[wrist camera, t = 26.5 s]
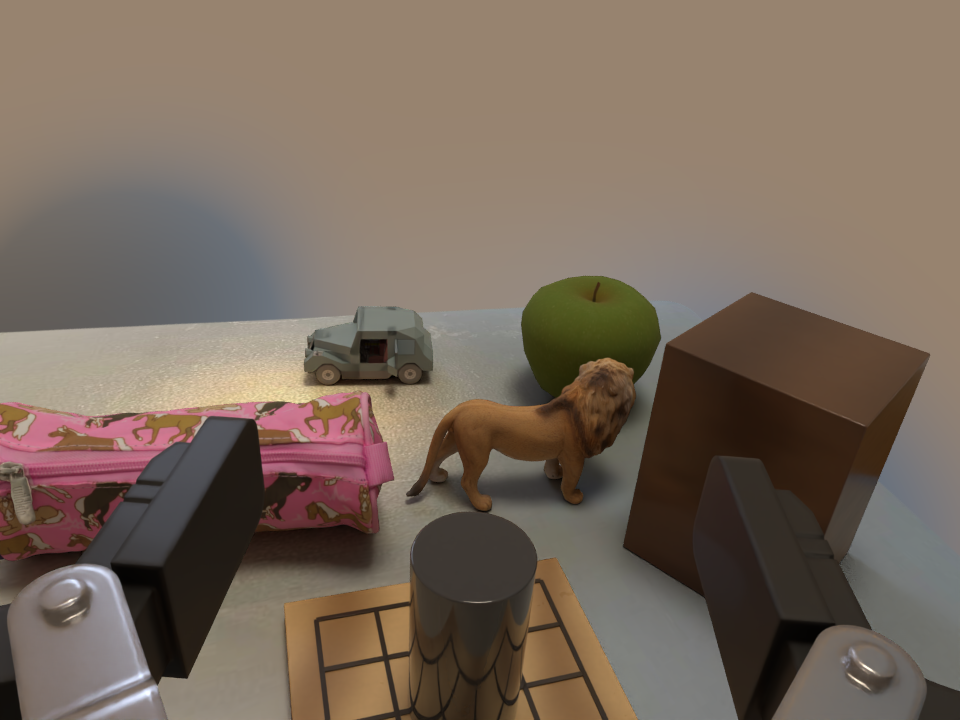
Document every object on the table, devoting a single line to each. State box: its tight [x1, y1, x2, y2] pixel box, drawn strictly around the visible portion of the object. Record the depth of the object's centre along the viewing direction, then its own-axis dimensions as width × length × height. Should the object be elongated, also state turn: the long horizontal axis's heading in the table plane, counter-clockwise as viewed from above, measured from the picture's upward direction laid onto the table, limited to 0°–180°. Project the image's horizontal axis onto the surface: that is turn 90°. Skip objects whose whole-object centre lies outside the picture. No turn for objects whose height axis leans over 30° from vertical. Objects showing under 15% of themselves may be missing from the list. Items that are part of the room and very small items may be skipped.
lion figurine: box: [406, 358, 636, 511], centre depth 46 cm, size 15×5×9 cm, turn 107°
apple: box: [521, 276, 661, 398], centre depth 57 cm, size 11×10×10 cm
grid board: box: [284, 558, 638, 720], centre depth 34 cm, size 15×15×1 cm
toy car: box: [304, 307, 433, 385], centre depth 58 cm, size 6×10×5 cm, turn 97°
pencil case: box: [0, 391, 394, 561], centre depth 41 cm, size 21×9×9 cm, turn 100°
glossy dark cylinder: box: [407, 512, 537, 720], centre depth 31 cm, size 5×5×9 cm
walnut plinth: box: [623, 292, 930, 597], centre depth 41 cm, size 10×10×14 cm
